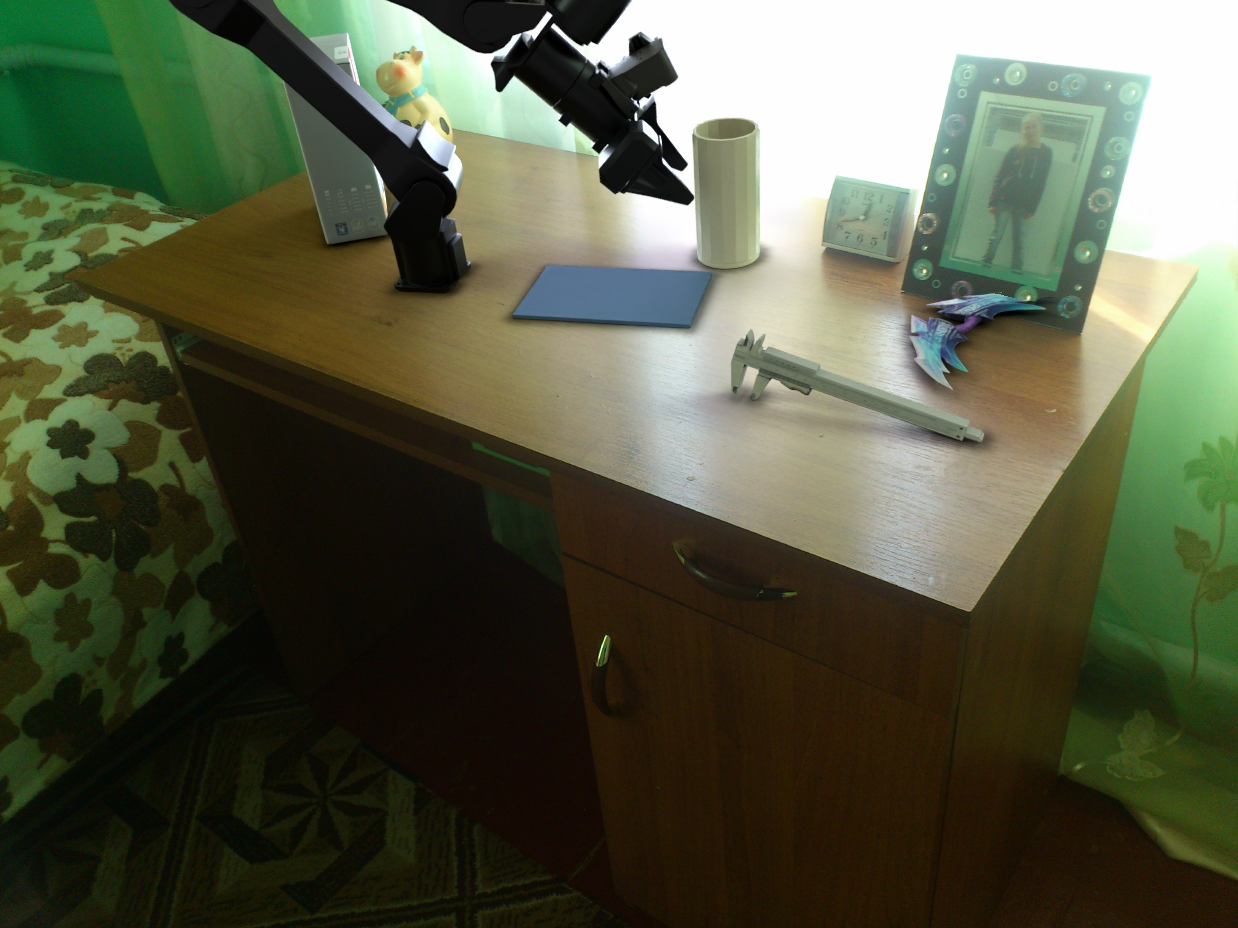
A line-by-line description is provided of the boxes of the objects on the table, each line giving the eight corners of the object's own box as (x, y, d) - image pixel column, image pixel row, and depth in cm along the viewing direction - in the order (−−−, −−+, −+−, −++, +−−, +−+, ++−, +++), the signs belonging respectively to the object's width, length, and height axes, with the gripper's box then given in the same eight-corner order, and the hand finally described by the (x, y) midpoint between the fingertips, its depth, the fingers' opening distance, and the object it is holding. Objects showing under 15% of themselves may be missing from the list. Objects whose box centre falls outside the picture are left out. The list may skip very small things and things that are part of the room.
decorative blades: (981, 266, 95) (1079, 297, 89) (980, 274, 96) (1077, 305, 89) (854, 344, 86) (953, 385, 79) (853, 352, 86) (952, 393, 80)
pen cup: (713, 274, 101) (708, 145, 93) (687, 250, 106) (681, 126, 98) (770, 259, 102) (771, 131, 94) (742, 236, 108) (741, 113, 99)
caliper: (731, 396, 83) (729, 332, 79) (735, 389, 84) (734, 325, 80) (981, 445, 74) (993, 376, 71) (984, 437, 75) (995, 368, 71)
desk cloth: (512, 318, 97) (512, 314, 97) (548, 268, 106) (547, 265, 105) (689, 328, 93) (689, 324, 92) (712, 275, 101) (712, 271, 101)
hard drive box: (392, 236, 116) (350, 62, 104) (327, 248, 115) (277, 73, 103) (386, 190, 128) (347, 29, 116) (327, 200, 127) (282, 39, 115)
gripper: (625, 40, 83) (755, 157, 89) (622, -8, 98) (733, 95, 104) (544, 140, 88) (673, 244, 94) (553, 80, 103) (663, 173, 109)
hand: (688, 184), depth 100 cm, fingers open, 9 cm apart
